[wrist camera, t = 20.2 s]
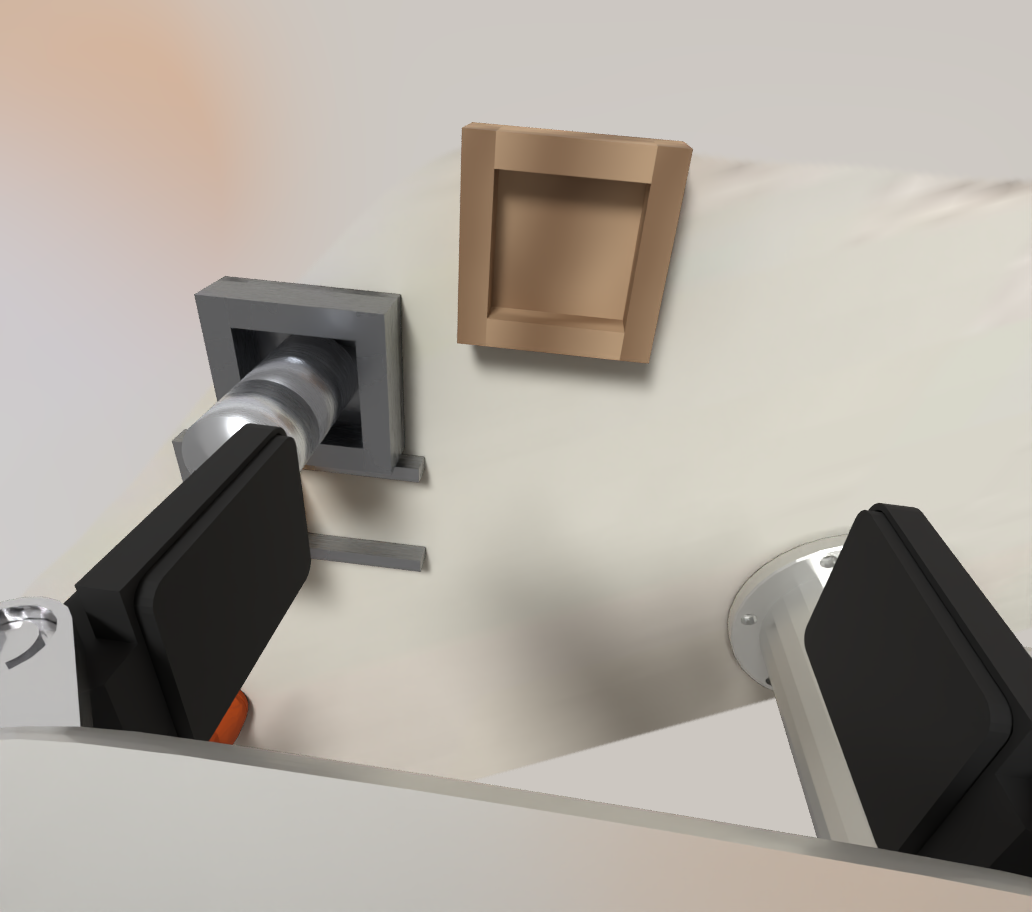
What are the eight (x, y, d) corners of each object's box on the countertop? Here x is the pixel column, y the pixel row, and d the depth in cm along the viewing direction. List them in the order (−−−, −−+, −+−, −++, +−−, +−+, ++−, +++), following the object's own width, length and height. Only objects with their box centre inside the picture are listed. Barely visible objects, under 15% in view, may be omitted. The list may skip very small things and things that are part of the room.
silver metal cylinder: (355, 336, 28) (282, 423, 21) (360, 413, 30) (296, 514, 23) (269, 327, 28) (170, 410, 21) (281, 404, 30) (194, 502, 24)
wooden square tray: (683, 141, 23) (692, 149, 21) (644, 341, 27) (648, 363, 25) (472, 122, 23) (461, 127, 21) (466, 322, 28) (457, 343, 26)
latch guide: (424, 456, 32) (418, 469, 31) (425, 557, 36) (420, 571, 35) (184, 429, 32) (171, 440, 31) (210, 531, 36) (200, 544, 35)
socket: (400, 294, 27) (384, 314, 25) (405, 446, 32) (391, 474, 29) (225, 276, 28) (194, 294, 25) (253, 429, 32) (229, 456, 30)
